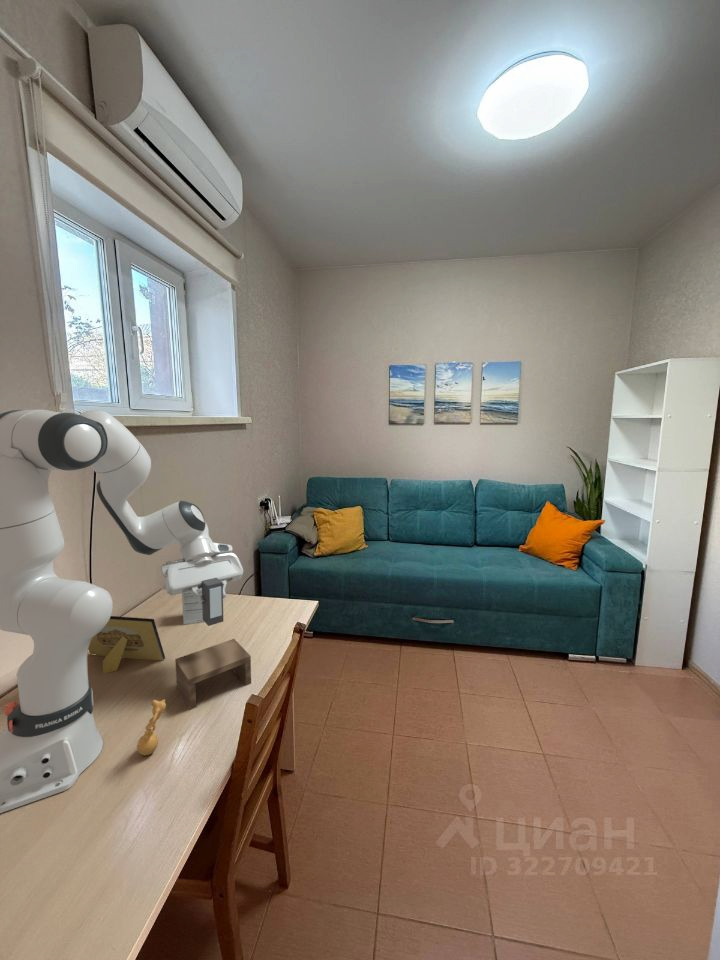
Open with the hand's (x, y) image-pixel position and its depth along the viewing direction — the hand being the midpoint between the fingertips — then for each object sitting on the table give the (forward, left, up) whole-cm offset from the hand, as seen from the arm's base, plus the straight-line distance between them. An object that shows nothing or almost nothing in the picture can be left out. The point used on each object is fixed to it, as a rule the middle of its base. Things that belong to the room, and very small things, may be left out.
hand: (212, 600), depth 105 cm
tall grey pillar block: (0, 0, -6) cm, 6 cm away
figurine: (-19, -16, -23) cm, 34 cm away
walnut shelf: (-1, -3, -23) cm, 23 cm away
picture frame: (-19, +24, -23) cm, 38 cm away
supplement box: (+7, +38, -23) cm, 45 cm away
